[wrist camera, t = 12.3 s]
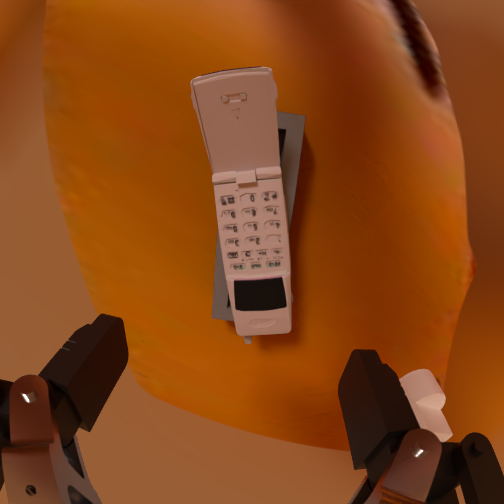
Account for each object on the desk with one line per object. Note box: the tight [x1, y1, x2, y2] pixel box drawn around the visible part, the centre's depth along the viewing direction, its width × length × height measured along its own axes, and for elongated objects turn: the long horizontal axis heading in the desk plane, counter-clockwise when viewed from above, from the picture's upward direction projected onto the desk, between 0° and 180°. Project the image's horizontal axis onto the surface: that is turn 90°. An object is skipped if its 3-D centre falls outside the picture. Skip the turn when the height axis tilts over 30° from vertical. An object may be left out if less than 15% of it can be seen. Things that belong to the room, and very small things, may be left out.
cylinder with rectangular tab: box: [399, 369, 453, 442], centre depth 32 cm, size 9×9×12 cm
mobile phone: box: [190, 66, 293, 344], centre depth 22 cm, size 6×6×25 cm
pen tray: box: [212, 111, 306, 321], centre depth 27 cm, size 21×6×4 cm, turn 173°
